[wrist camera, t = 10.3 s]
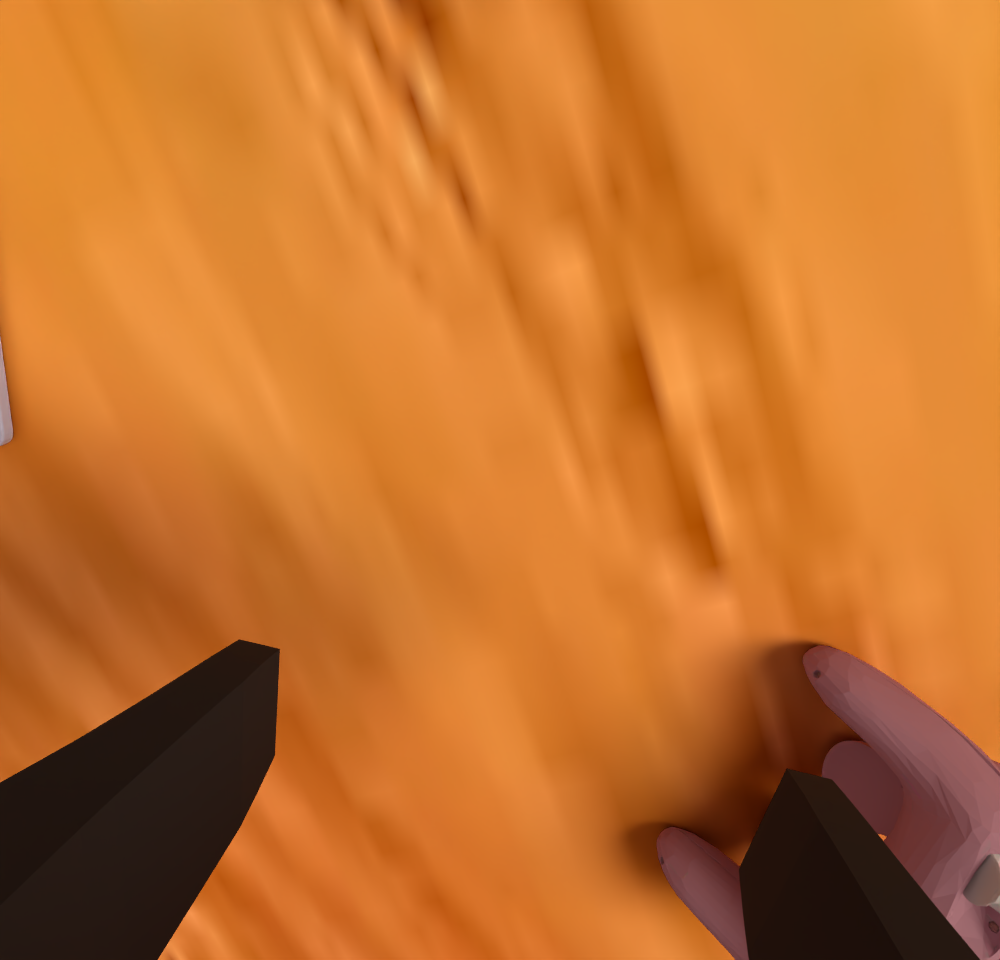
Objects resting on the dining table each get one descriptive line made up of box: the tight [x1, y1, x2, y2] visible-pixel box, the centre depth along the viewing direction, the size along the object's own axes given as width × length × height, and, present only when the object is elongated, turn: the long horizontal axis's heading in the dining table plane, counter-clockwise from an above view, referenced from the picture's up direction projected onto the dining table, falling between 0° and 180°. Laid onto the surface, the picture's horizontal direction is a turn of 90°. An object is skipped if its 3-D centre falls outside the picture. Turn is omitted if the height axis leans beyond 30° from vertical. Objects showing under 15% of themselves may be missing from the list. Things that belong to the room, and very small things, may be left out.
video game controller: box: [657, 645, 1000, 960], centre depth 18 cm, size 10×5×7 cm, turn 157°
